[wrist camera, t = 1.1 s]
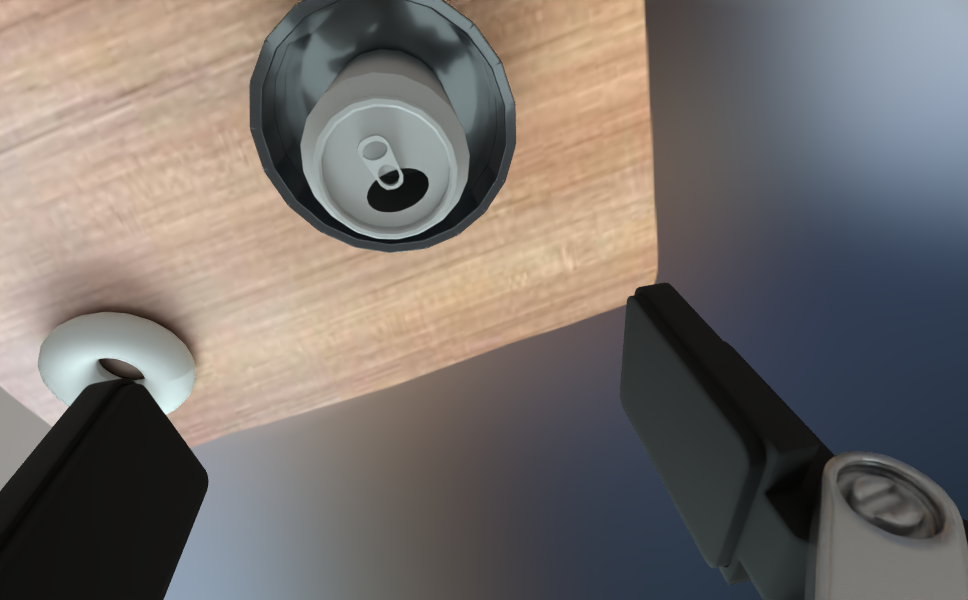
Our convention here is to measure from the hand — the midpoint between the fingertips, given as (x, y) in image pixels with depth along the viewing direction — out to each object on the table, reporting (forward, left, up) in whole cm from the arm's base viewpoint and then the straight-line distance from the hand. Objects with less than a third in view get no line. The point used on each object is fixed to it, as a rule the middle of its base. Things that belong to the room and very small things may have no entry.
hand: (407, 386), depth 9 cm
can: (-1, 0, -25) cm, 25 cm away
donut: (-18, -23, -25) cm, 38 cm away
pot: (-1, 0, -25) cm, 25 cm away
